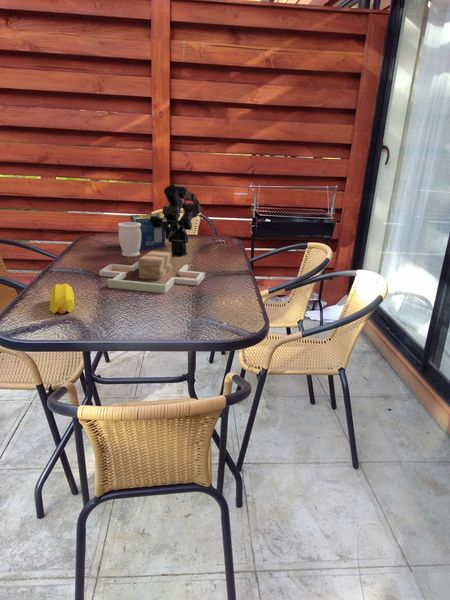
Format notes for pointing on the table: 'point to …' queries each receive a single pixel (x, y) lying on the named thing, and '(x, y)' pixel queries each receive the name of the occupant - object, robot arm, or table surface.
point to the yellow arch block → (61, 298)
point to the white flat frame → (122, 270)
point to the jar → (130, 238)
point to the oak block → (155, 264)
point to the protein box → (150, 232)
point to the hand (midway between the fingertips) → (166, 238)
